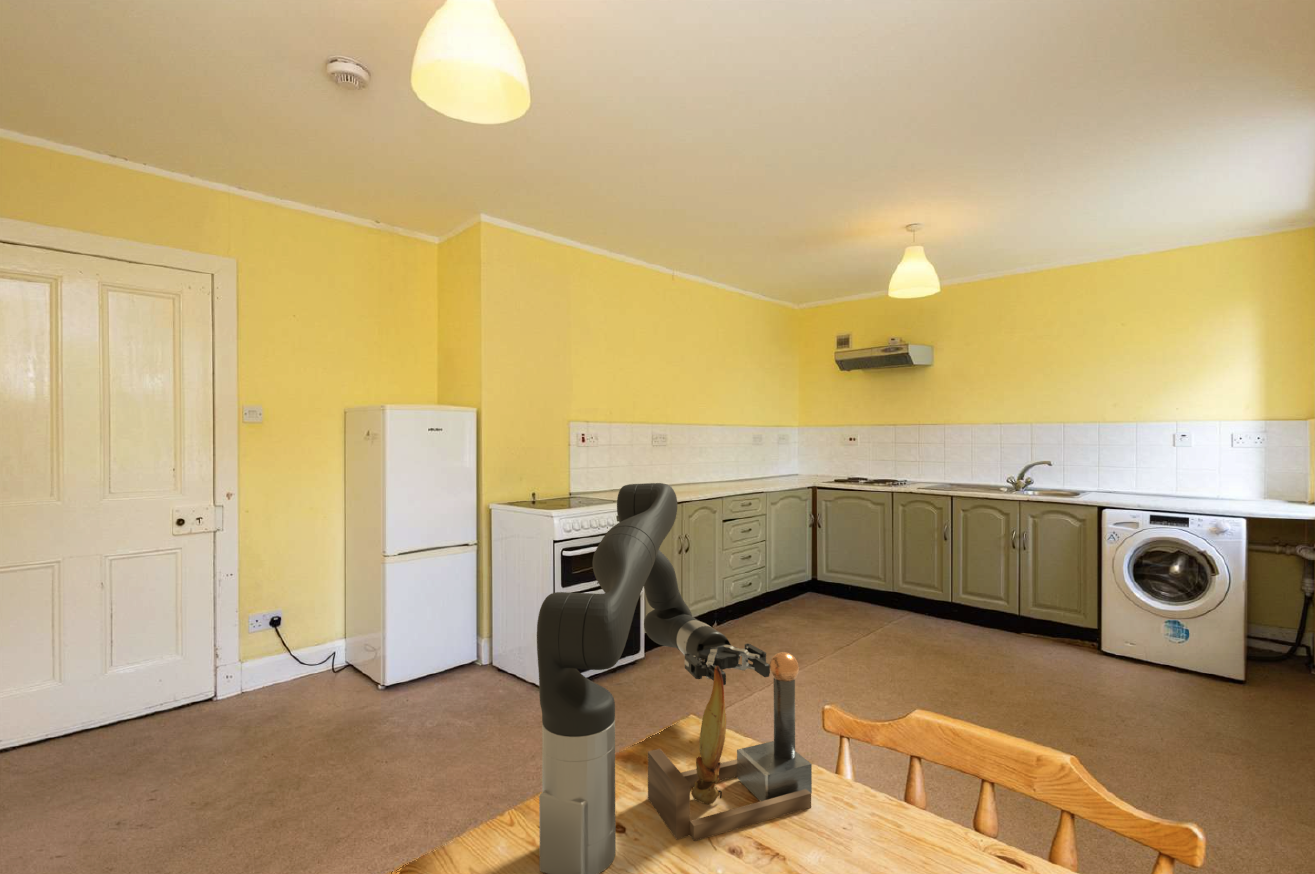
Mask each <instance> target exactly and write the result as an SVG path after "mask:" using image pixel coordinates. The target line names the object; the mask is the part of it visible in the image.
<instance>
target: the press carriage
mask: <svg viewBox="0 0 1315 874" xmlns="http://www.w3.org/2000/svg"><path fill="white" fill-rule="evenodd" d="M769 665H770V674H771V676H772V677H773V741H768V742H764V743H760V744H756V745H750V746H747V747H742V748H737V749H736V759H737V777H736V778H737V780H738V781H739V782H740V783H742V785H743V786H744V787H745V788H747V790H748V791H750V792H751V794H752V795H753V796H755V797H756V798H757V800H758V801H759V802H760V801H764V800H768V799H771V798H775V797H779V796H782V795H786V794H790V793H793V792H797V791H801V790H804V789H807V790H808V791H809V792H810V793H811V795H812V794H813V792H812V791H813V789H812V788H813V787H812V786H813V785H812V783H813V782H812V781H813V775H812V769H813V766H812V763H811V762H810V761H809V760H807V759H806V758H805V757H804V756H802V755H801V754H800V753H799V752H797V751H796V679H797V677H798V674H799V672H800V666H799V662H798V660H797V659H796V657H795V656H794V655H793V654H791V653H789V652H786V651H781V652H778V653H775V655H773V656H772V657H771V659H770V661H769Z"/></svg>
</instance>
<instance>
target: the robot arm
mask: <svg viewBox="0 0 1315 874" xmlns="http://www.w3.org/2000/svg"><path fill="white" fill-rule="evenodd" d="M616 513H617V518H618V523H616V524H615V525H613V526H612V527H611V528H610V529H608V531H607V532H606V533H605V534H604V536H603V537H602V538H601V540H600V542H599V543H598V546H597V547H596V549H595V550H594V553H593V557H592V569H593V570H592V571H593V574H594V577H595V579H596V581H597V582H598V585H599V586H600V588H601V589H602V590H603V592H604V593H589V592H570V591H569V592H567V591H566V592H564V591H563V592H562V591H560V592H559V591H557V592H552V593H550V594H549V595H547V596H545V599H544V600H543V601H542V603H541V605H540V609H539V612H538V618H537V622H536V651H537V652H536V653H537V667H538V669H537V670H538V683H539V685H538V686H539V687H538V689H539V690H538V691H539V705H540V709H541V723H542V724H541V726H542V728H541V732H542V733H541V734H542V737H541V738H542V746H541V748H542V749H541V751H542V752H541V757H542V758H541V759H542V760H541V761H542V762H541V763H542V765H541V766H542V767H541V768H542V770H541V771H542V773H541V774H542V775H541V777H542V779H541V780H542V782H541V783H542V792H541V793H540V794H539V797H538V799H539V800H538V801H539V803H538V804H539V808H538V809H539V815H538V816H539V819H538V821H539V826H538V827H539V871H540V872H541V873H545V874H601V872H604V871H605V870H607V869H608V867H610V866H611V865H612V863H613V861H614V860H615V857H616V845H617V844H616V843H617V842H616V702H615V698H614V696H613V694H612V693H611V691H609V690H608V689H607V688H606V687H604V686H603V685H600V684H597V683H596V682H594V681H592V680H590V679H589V678H587V677H586V676H585V675H583V674H582V672H580V671H579V670H591V671H602V670H603V671H604V670H608V669H609V670H610V669H611V668H613V667H615V665H617V664H618V662H619V660H620V659H621V656H622V654H623V652H624V649H625V647H626V643H627V640H628V637H629V633H630V630H631V627H632V623H633V619H634V616H635V615H634V614H635V612H636V611H635V610H636V607H637V605H638V601H639V599H640V597H641V593H642V591H643V590H644V593H645V597H646V600H647V603H648V605H649V606H650V607H651V608H652V609H653V610H650V611H649V612H648V613H647V614H646V616H645V617H644V620H643V628H644V631H645V633H646V635H647V636H648V638H649V639H651V641H653V643H656V644H658V645H660V646H662V647H669V648H674V649H677V650H678V651H680V652H681V653H682V655H683V656H684V669H685V670H686V671H687V672H688V673H689V674H690V675H691V676H692V677H693V678H694V679H696V680H702V679H703V677H705V679H708V680H712V681H713V682H714V671H715V667H716V666H719V668H720V671H721V675H722V679H723V686H725V685H726V684H727V674H726V672H725V671H724V670H726V669H729V670H731V669H735V670H739V671H740V670H741V671H745V670H748V669H749V670H753V671H755V673H758V674H759V675H761V676H762V677H764V678H769V677H770V674H771V672H770V663H768V662H767V652H766V651H763V650H762V649H760V648H759V647H757V646H755V645H752V644H751V643H745V644H744V648H739V647H738V646H733V645H732V644H731V642H730V641H729V639H728V638H727V636H725V634H723V633H722V632H720V631H718V630H717V629H715V628H714V627H712V626H710V625H709V624H707V623H706V622H703V621H700V620H699V619H697V618H695V617H694V616H693V614H692V612H691V611H692V610H691V609H690V608H689V606H688V605H687V603H686V602H685V600H684V598H683V597H682V595H681V592H680V589H679V583H678V579H677V573H676V570H675V568H674V566H673V564H672V562H671V561H670V560H669V558H667V556H666V555H665V553H664V552H662V551H661V550H660V547H661V545H662V544H663V542H664V540H665V539H666V537H667V536H668V535H669V534H670V532H671V530H672V528H673V526H674V524H675V522H676V518H677V515H678V498H677V493H676V492H675V489H673V487H672V486H671V485H669V484H666V483H663V482H649V483H647V482H646V483H631V484H624V485H623V486H621V488H619V491H618V494H617V498H616ZM740 659H741V664H740ZM749 661H750V662H752V663H749Z"/></svg>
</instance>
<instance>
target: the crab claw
mask: <svg viewBox="0 0 1315 874" xmlns="http://www.w3.org/2000/svg"><path fill="white" fill-rule="evenodd" d="M725 700H726V699H725V687H724V685H723V679H722V675H721V671H720V668H719V666H716V667H715V671H714V681H713V685H712V691H711V694H710V697H709V700H708V702H707V704H706V705H705V709H704V712H703V715H702V720H701V726H700V733H699V741H698V742H699V744H698V745H699V746H698V747H699V748H698V749H699V752H700V753H699V754H700V756H697V757H695V764H696V768H695V769H696V770H697V775H698V777H699V778H698V780H697V782H695V786H694V787H691V788H690V789H691V790H690V795H691V797H692V798H693V799H694V800H696V801H697V802H700V803H702V804H704V805H713V804H714V803H715V802H716V800H717V798H718V796H719V799H722V796H723V792H722V790H719V789H718V788H717V787H716V784H717V783H718V782H720V781H719V780H720V779H719V768H720V763H722V762H721V761H720V760H721V757H722V754H723V750H724V745H725V741H726V732H727V712H726V701H725Z"/></svg>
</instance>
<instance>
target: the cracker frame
mask: <svg viewBox="0 0 1315 874" xmlns="http://www.w3.org/2000/svg"><path fill="white" fill-rule="evenodd" d="M698 778H699V777H698V775H697V770H696V768H694V769H690V770H687V771H682V772H681V771H680V770H679V768H677V767H676V765H675V764H674V763H673V762H672V761H671V759H670V758H669V757H668V756H667V755H666V753H665V752H664V751H663V750H662V749H661V748H657V749H652V750H647V800H648V801H649V802H650V804H651V805H652V807H653V808H654V810H655V811H656V812H657V814H658V815H659V817H660V819H661V820H662V822H664V825H665V826H666V827H667V828H668V829H669V831H670V833H671V835H672V836H673V837H674V838H675V840H681V839H683V838H687V837H690V838H691V839H692V840H693V842H696V841H699V840H703V839H706V838H709V837H713V836H717V835H720V834H723V833H726V832H730V831H733V830H737V829H741V828H744V827H747V826H751V825H755V824H758V823H761V822H765V821H768V820H772V819H775V818H779V817H783V816H785V815H788V814H793V813H796V812H799V811H800V812H801V811H804V810H806V809H810V808H812V794H811V793H810V792H809V791H808V790H807V789H804V790H801V791H797V792H793V793H790V794H786V795H782V796H779V797H775V798H771V799H768V800H764V801H760V800H759V801H757V802H753V803H750V804H746V805H743V806H739V807H735V808H732V809H728V810H725V811H720V812H717V813H713V814H710V815H706V816H703V817H699V818H696V819H692V820H691V790H690V789H692V788H691V787H693V788H694V786H695V782H697V780H698ZM732 778H737V758H735V759H731V760H728V761H723V762H721V763H720V768H719V779H720V780H719V781H718V782H721V781H725V780H729V779H732Z"/></svg>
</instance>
